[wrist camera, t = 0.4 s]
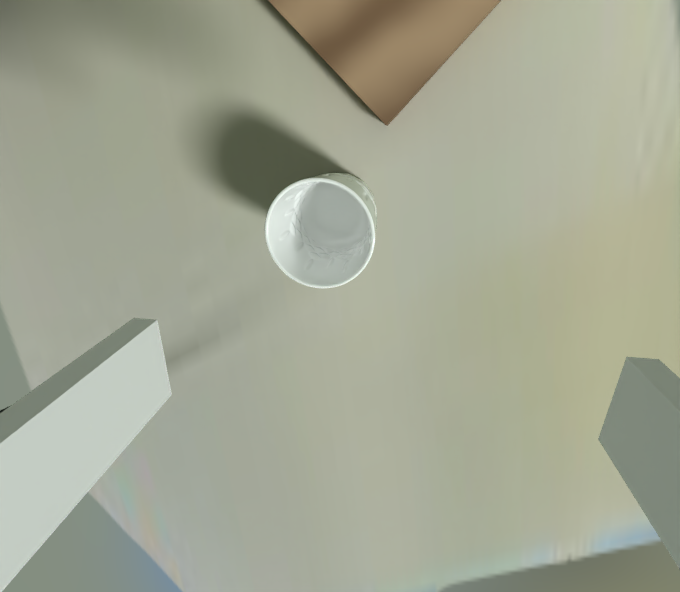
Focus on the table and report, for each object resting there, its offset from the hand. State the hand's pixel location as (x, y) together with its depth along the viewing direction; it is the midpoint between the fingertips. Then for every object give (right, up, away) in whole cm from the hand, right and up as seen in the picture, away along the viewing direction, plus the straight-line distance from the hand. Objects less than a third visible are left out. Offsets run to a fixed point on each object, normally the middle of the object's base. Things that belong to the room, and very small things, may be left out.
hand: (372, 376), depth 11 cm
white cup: (-1, +10, +26) cm, 28 cm away
